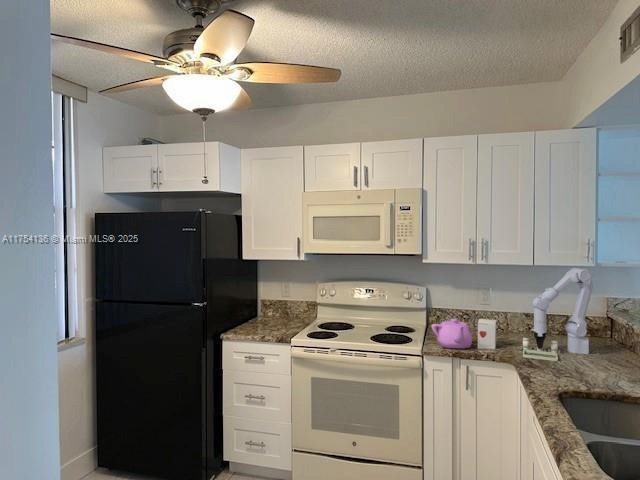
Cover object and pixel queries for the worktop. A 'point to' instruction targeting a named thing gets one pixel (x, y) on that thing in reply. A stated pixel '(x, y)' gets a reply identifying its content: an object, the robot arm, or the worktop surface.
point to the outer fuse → (526, 343)
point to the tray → (540, 356)
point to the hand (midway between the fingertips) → (539, 347)
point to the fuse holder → (543, 350)
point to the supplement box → (486, 334)
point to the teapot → (453, 334)
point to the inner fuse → (554, 346)
